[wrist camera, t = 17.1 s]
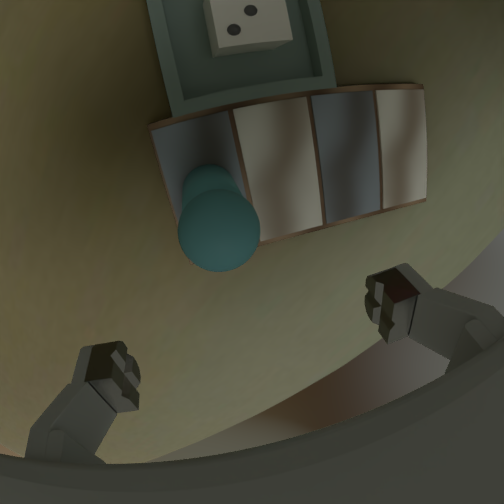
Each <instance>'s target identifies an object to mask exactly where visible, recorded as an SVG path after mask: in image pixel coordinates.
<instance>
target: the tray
mask: <svg viewBox="0 0 504 504" xmlns="http://www.w3.org/2000/svg"><path fill="white" fill-rule="evenodd" d="M146 1H147V6H148V11H149V16H150V21H151V25H152V30H153V35H154V39H155V44H156V48H157V53H158V57H159V62H160V66H161V70H162V75H163V79H164V83H165V87H166V92H167V96H168V100H169V104H170V108H171V112H172V116H173V118H175V117H179V116H182V115H186V114H190V113H194V112H197V111H201V110H205V109H210V108H214V107H218V106H222V105H227V104H232V103H236V102H241V101H246V100H251V99H257V98H262V97H268V96H274V95H281V94H287V93H294V92H302V91H310V90H318V89H328V88H337V85H336V79H335V72H334V67H333V61H332V56H331V50H330V45H329V40H328V35H327V30H326V26H325V21H324V17H323V12H322V8H321V4H320V0H285V2H286V7H287V12H288V17H289V22H290V27H291V32H292V37H293V40H292V41H289V42H287V43H285V44H283V45H281V46H279V47H277V48H275V49H273V50H263V51H255V52H247V53H240V54H233V55H227V56H221V57H215V58H213V56H212V51H211V46H210V41H209V36H208V31H207V25H206V20H205V15H204V10H203V1H204V0H146Z"/></svg>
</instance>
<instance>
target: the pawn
mask: <svg viewBox="0 0 504 504" xmlns="http://www.w3.org/2000/svg"><path fill="white" fill-rule="evenodd" d="M178 238H179V242H180V245H181V248H182V250H183V251H184V253H185V255H186V256H187V257H188V258H189V259H190V260H191V261H192V262H193V263H194V264H196V265H197V266H199V267H201V268H203V269H205V270H209V271H214V272H224V271H229V270H232V269H235V268H237V267H239V266H241V265H243V264H244V263H245V262H246V261H247V260H248V259H249V258H250V257H251V256H252V255H253V253H254V252H255V250H256V248H257V246H258V243H259V239H260V221H259V218H258V215H257V213H256V211H255V209H254V207H253V206H252V205H251V204H250V202H249V201H248V200H247V199H246V198H244V197H243V195H242V193H241V192H240V190H239V188H238V186H237V185H236V183H235V181H234V179H233V178H232V176H231V174H230V173H229V172H228V171H227V170H226V169H224V168H222V167H220V166H218V165H213V164H206V165H202V166H199V167H197V168H195V169H193V170H192V171H191V172H190V173H189V174H188V175H187V177H186V178H185V180H184V183H183V188H182V213H181V216H180V219H179V223H178Z"/></svg>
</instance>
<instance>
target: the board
mask: <svg viewBox="0 0 504 504" xmlns="http://www.w3.org/2000/svg"><path fill="white" fill-rule="evenodd" d="M147 127H148V130H149V134H150V138H151V141H152V145H153V148H154V152H155V155H156V159H157V162H158V166H159V169H160V172H161V176H162V179H163V182H164V186H165V189H166V192H167V196H168V199H169V202H170V205H171V208H172V211H173V214H174V218H175V221H176V224H177V227H178V223H179V219H180V216H181V213H182V188H183V183H184V180H185V178H186V177H187V175H188V174H189V173H190V172H191V171H192V170H193V169H195V168H197V167H199V166H202V165H206V164H213V165H218V166H220V167H222V168H224V169H226V170H227V171H228V172H229V173H230V174H231V176H232V178H233V179H234V181H235V183H236V185H237V186H238V188H239V190H240V192H241V193H242V195H243V197H244V198H246V199H247V200H248V201H249V202H250V204H251V205H252V206H253V207H254V209H255V211H256V213H257V215H258V218H259V221H260V239H259V243H258V246H262V245H265V244H269V243H273V242H276V241H280V240H284V239H287V238H291V237H295V236H298V235H302V234H306V233H309V232H313V231H317V230H321V229H324V228H328V227H332V226H335V225H339V224H343V223H346V222H350V221H354V220H358V219H361V218H365V217H369V216H372V215H376V214H380V213H384V212H387V211H391V210H395V209H399V208H402V207H406V206H410V205H414V204H417V203H421V202H425V201H426V192H427V129H426V111H425V98H424V87H423V84H366V85H349V86H337V88H328V89H318V90H310V91H302V92H294V93H287V94H281V95H274V96H268V97H262V98H257V99H251V100H246V101H241V102H236V103H232V104H227V105H222V106H218V107H214V108H210V109H205V110H201V111H197V112H194V113H190V114H186V115H182V116H179V117H175V118H173V117H170V118H167V119H163V120H160V121H157V122H154V123H150V124H148V125H147ZM258 246H257V247H258ZM188 259H189V258H188ZM189 262H190V265H192V264H194V263H193V262H192V261H191V260H190V259H189Z"/></svg>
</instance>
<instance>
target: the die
mask: <svg viewBox="0 0 504 504" xmlns="http://www.w3.org/2000/svg"><path fill="white" fill-rule="evenodd" d="M203 10H204V15H205V20H206V25H207V31H208V36H209V41H210V46H211V51H212V56H213V58H215V57H221V56H227V55H233V54H240V53H247V52H255V51H263V50H273V49H275V48H277V47H279V46H281V45H283V44H285V43H287V42H289V41H292V40H293V37H292V32H291V27H290V22H289V17H288V12H287V7H286V2H285V0H204V1H203Z"/></svg>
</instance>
